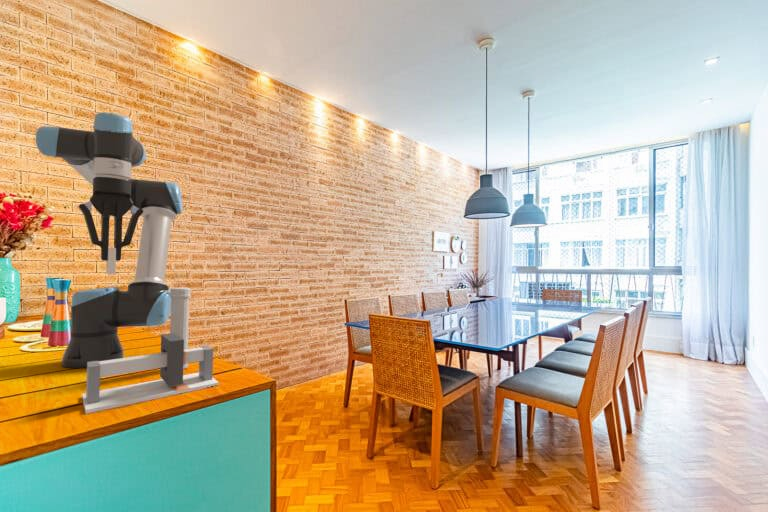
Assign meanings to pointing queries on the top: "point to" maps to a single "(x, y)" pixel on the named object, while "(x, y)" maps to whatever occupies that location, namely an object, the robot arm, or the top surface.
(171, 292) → the pipe
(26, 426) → the top surface
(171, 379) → the collar
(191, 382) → the rail
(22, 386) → the top surface
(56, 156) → the robot arm
